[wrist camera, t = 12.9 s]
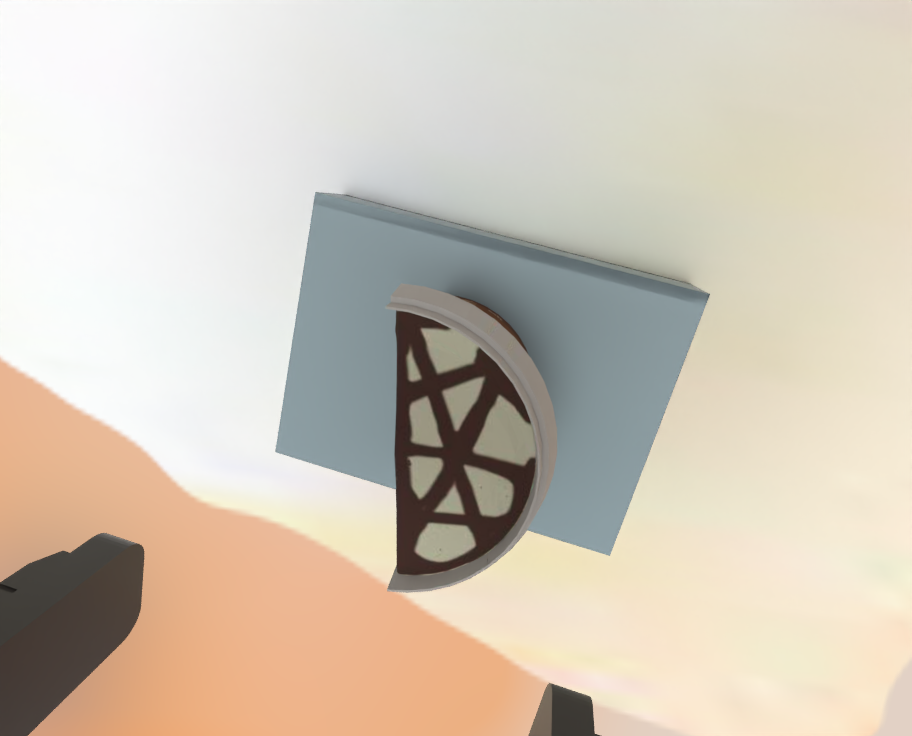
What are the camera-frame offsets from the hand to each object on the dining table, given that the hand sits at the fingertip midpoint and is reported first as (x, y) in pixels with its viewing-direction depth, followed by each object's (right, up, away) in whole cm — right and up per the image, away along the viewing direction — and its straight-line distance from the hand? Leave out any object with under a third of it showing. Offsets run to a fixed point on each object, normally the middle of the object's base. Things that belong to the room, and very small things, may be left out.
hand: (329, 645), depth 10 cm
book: (+4, +5, +23) cm, 24 cm away
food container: (+5, +4, +19) cm, 20 cm away
